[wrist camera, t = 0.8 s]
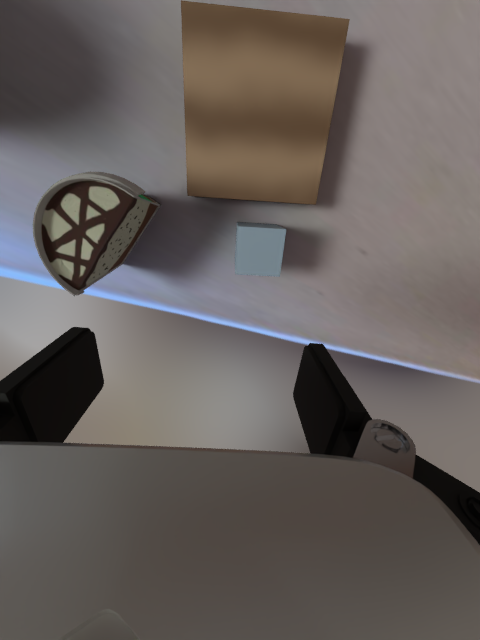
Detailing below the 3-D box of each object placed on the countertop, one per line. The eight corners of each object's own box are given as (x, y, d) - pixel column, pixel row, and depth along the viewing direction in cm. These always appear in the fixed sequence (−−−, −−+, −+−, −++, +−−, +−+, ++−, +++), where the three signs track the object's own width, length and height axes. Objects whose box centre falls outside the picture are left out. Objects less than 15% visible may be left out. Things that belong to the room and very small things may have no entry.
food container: (120, 152, 26) (61, 126, 17) (167, 194, 28) (137, 190, 19) (72, 241, 30) (4, 258, 21) (117, 272, 32) (71, 300, 23)
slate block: (237, 221, 30) (237, 226, 24) (276, 224, 30) (286, 229, 24) (235, 262, 32) (235, 274, 26) (271, 264, 32) (279, 276, 27)
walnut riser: (187, 25, 22) (181, 0, 19) (335, 40, 23) (349, 19, 20) (192, 196, 28) (187, 195, 25) (308, 204, 29) (315, 204, 26)
